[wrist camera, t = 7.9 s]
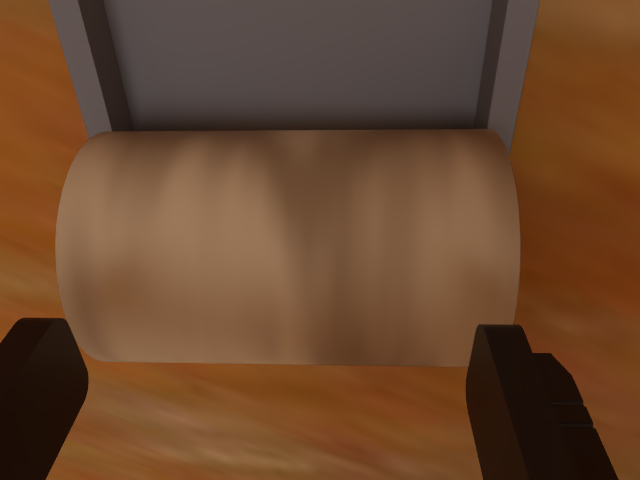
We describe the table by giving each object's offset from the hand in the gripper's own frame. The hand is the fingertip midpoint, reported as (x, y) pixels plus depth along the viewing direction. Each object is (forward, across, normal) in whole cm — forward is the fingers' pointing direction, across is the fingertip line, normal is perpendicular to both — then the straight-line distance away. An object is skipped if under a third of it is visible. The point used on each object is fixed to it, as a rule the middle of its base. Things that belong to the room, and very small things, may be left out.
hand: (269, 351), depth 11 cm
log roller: (+10, 0, +2) cm, 10 cm away
